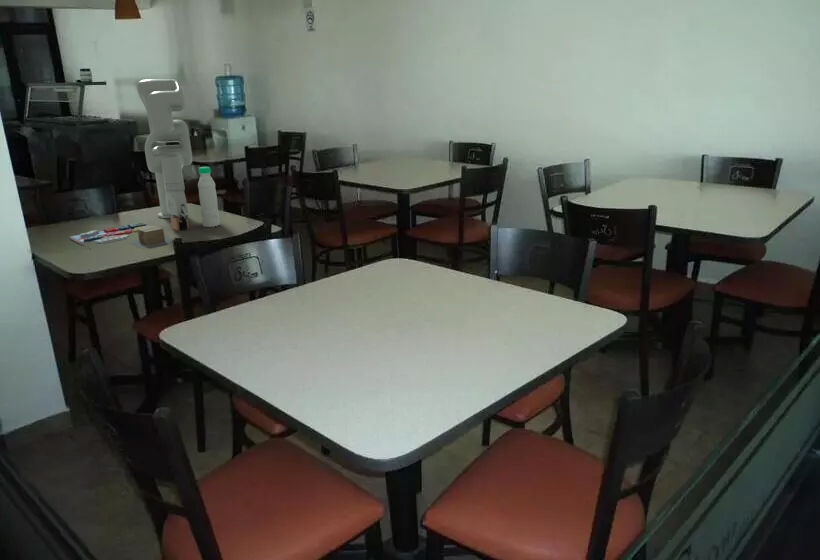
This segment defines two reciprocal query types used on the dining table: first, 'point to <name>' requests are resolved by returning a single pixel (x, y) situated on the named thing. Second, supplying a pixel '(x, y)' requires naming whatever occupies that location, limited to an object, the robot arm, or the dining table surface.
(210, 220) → the water bottle
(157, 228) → the base block
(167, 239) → the mat
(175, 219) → the top block
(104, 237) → the puzzle board
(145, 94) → the robot arm
